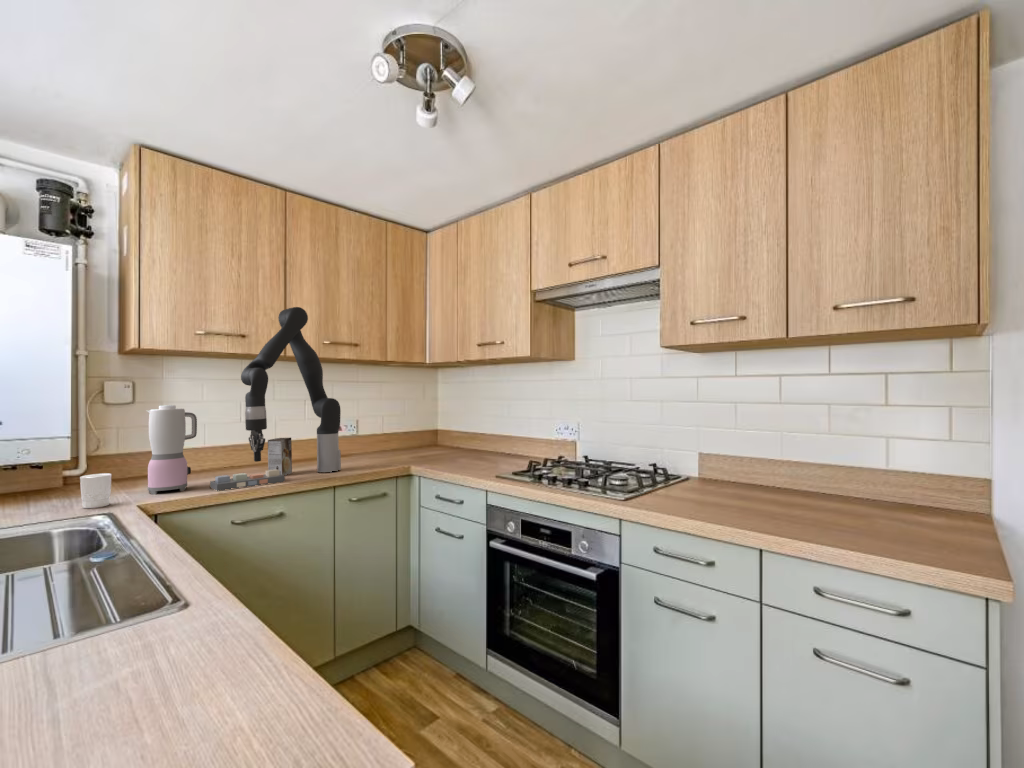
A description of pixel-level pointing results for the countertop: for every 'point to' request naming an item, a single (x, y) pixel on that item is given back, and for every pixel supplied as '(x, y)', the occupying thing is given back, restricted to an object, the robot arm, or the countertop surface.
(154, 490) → the blender
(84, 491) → the white cup
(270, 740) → the countertop surface
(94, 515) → the countertop surface
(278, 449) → the coffee box
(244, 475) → the sage key
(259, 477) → the terracotta key
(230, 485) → the keypad
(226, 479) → the slate key
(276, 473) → the sand key
